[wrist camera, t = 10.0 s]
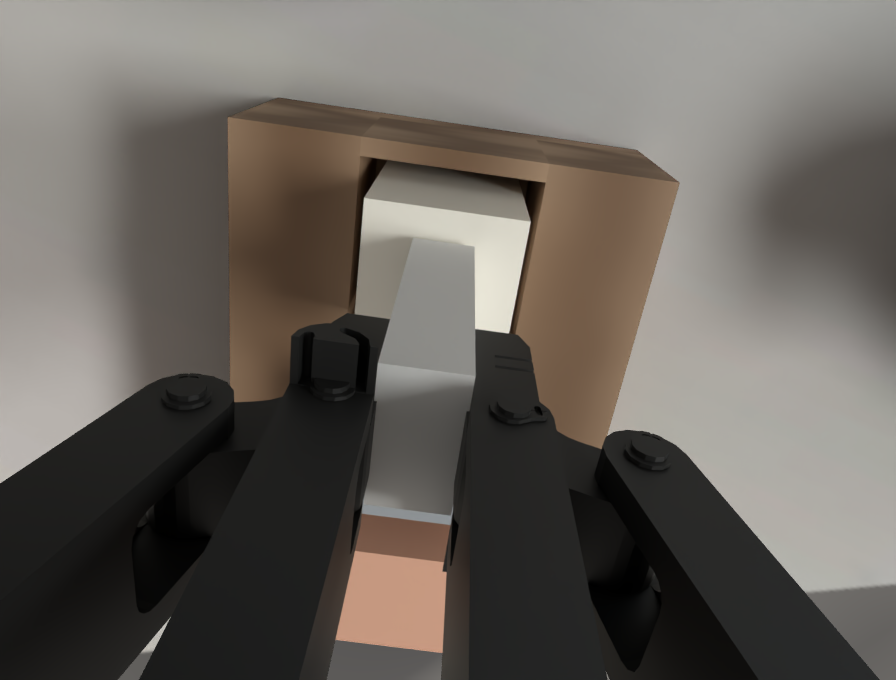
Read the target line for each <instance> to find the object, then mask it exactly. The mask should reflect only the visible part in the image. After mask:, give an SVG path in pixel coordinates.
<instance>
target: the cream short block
mask: <svg viewBox="0 0 896 680" xmlns="http://www.w3.org/2000/svg"><path fill="white" fill-rule="evenodd" d="M530 223H531V221H530V217H529V214H528V211H527V207H526V204H525V200H524V197H523V194H522V190H521V187H520V183H519V180H518V179H517V178H510V177H503V176H496V175H489V174H482V173H475V172H468V171H461V170H454V169H448V168H441V167H434V166H427V165H420V164H413V163H406V162H399V161H392V160H387V162H386V164H385V165H384V167H383V168H382V170H381V172H380V173H379V175H378V176H377V178H376V180H375V181H374V183H373V184H372V186H371V188H370V189H369V191H368V192H367V194H366V196H365V197H364V205H363V217H362V229H361V242H360V254H359V266H358V279H357V291H356V304H355V314H357V315H365V316H372V317H379V318H386V319H390V318H391V315H392V311H393V307H394V304H395V300H396V297H397V293H398V290H399V286H400V283H401V279H402V276H403V272H404V268H405V265H406V261H407V258H408V254H409V251H410V247H411V244H412V240H413V238H419V239H426V240H433V241H440V242H447V243H454V244H461V245H468V246H474V247H475V329H479V330H487V331H494V332H501V333H508V334H509V331H510V326H511V321H512V316H513V311H514V305H515V300H516V295H517V290H518V285H519V280H520V275H521V270H522V264H523V259H524V254H525V249H526V244H527V239H528V234H529V228H530Z"/></svg>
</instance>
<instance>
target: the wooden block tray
mask: <svg viewBox="0 0 896 680" xmlns="http://www.w3.org/2000/svg"><path fill="white" fill-rule="evenodd" d="M387 160H392V161H399V162H406V163H413V164H420V165H427V166H434V167H441V168H448V169H454V170H461V171H468V172H475V173H482V174H489V175H496V176H503V177H510V178H517V179H518V180H519V183H520V187H521V190H522V194H523V197H524V200H525V204H526V207H527V211H528V214H529V217H530V221H531V223H530V228H529V234H528V239H527V244H526V249H525V254H524V259H523V264H522V270H521V275H520V280H519V285H518V290H517V295H516V300H515V305H514V311H513V316H512V321H511V326H510V331H509V334H516V335H519V336H520V338H521V339H522V340H523V341H524V342H525V343H526V344H527V345H528V346H529V347H530V351H531V356H532V362H533V368H534V373H535V379H536V384H537V390H538V396H539V401H540V402H541V403H542V404H543V405H544V406H546V407H547V408H548V409H549V410H550V411H551V413H552V415H553V417H554V419H555V424H556V429H557V431H558V432H560V433H562V434H563V435H565V436H567V437H569V438H571V439H574V440H576V441H579V442H581V443H584V444H588V445H591V446H594V447H597V448H600V449H602V446H603V443H604V440H605V437H607V434H608V430H609V427H610V423H611V420H612V416H613V413H614V409H615V406H616V402H617V399H618V395H619V392H620V389H621V385H622V382H623V378H624V375H625V371H626V368H627V364H628V361H629V357H630V354H631V350H632V347H633V343H634V340H635V336H636V333H637V329H638V326H639V322H640V319H641V316H642V312H643V309H644V305H645V302H646V298H647V295H648V291H649V288H650V284H651V281H652V277H653V274H654V270H655V267H656V263H657V260H658V256H659V253H660V249H661V246H662V243H663V239H664V236H665V232H666V229H667V225H668V222H669V218H670V215H671V211H672V208H673V204H674V201H675V197H676V194H677V190H678V187H679V182H678V181H677V180H675V179H674V178H673V177H672V176H670V175H669V174H668V173H666V172H665V171H664V170H662V169H661V168H660V167H658V166H657V165H656V164H655V163H653V162H652V161H651V160H649V159H648V158H647V157H645V156H644V155H643V154H641V153H640V152H639V151H638V150H632V149H625V148H618V147H611V146H604V145H598V144H591V143H584V142H577V141H570V140H563V139H557V138H550V137H543V136H536V135H529V134H523V133H516V132H509V131H502V130H495V129H488V128H482V127H475V126H468V125H461V124H454V123H447V122H441V121H434V120H427V119H420V118H413V117H406V116H400V115H393V114H386V113H379V112H372V111H366V110H359V109H352V108H345V107H338V106H331V105H325V104H318V103H311V102H304V101H297V100H290V99H284V98H277V99H274V100H271V101H269V102H266V103H263V104H261V105H258V106H255V107H253V108H250V109H248V110H245V111H242V112H240V113H237V114H234V115H232V116H229V117H228V213H229V321H230V386H231V388H232V389H233V390H234V402H251V401H263V400H271V399H275V398H279V397H283V395H284V393H285V391H286V389H287V387H288V385H289V381H290V353H291V336H292V335H293V334H294V333H295V332H296V331H297V330H298V329H301V328H304V327H307V326H309V325H315V324H323V323H332V322H333V321H335V320H336V319H338V318H340V317H341V316H343V315H345V314H346V313H350V314H355V304H356V291H357V279H358V266H359V254H360V242H361V229H362V217H363V205H364V197H365V196H366V194H367V192H368V191H369V189H370V188H371V186H372V184H373V183H374V181H375V180H376V178H377V176H378V175H379V173H380V172H381V170H382V168H383V167H384V165H385V164H386V162H387Z"/></svg>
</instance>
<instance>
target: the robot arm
mask: <svg viewBox="0 0 896 680" xmlns="http://www.w3.org/2000/svg"><path fill="white" fill-rule="evenodd" d="M363 499H364V504H365V505H372V506H380V507H388V508H395V509H403V510H411V511H419V512H426V513H434V514H442V515H449V516H451V513H452V508H453V513H452V519H451V525H450V530H449V536H448V542H447V547H446V553H445V559H444V564H443V570H442V571H443V572H447V574H446V594H445V613H444V633H443V652H442V672H441V680H607V676H606V672H607V674H608V677H609V679H610V680H879V678H878V677H877V676H876V675H875V674H874V673H873V671H872V670H871V669H870V668H869V667H868V666H867V664H866V663H865V662H864V661H863V660H862V659H861V657H860V656H859V655H858V654H857V653H856V652H855V651H854V649H853V648H852V647H851V646H850V645H849V643H848V642H847V641H846V640H845V639H844V638H843V637H842V635H841V634H840V633H839V632H838V631H837V629H836V628H835V627H834V626H833V625H832V624H831V622H830V621H829V620H828V619H827V618H826V617H825V615H824V614H823V613H822V612H821V611H820V610H819V608H818V607H817V606H816V605H815V604H814V603H813V601H812V600H811V599H810V598H809V597H808V596H807V594H806V593H805V592H804V591H803V590H802V589H801V587H800V586H799V585H798V584H797V583H796V582H795V580H794V579H793V578H792V577H791V576H790V575H789V573H788V572H787V571H786V570H785V569H784V568H783V566H782V565H781V564H780V563H779V562H778V561H777V559H776V558H775V557H774V556H773V555H772V554H771V552H770V551H769V550H768V549H767V548H766V547H765V545H764V544H763V543H762V542H761V541H760V540H759V538H758V537H757V536H756V535H755V534H754V533H753V532H752V530H751V529H750V528H749V527H748V526H747V525H746V523H745V522H744V521H743V520H742V519H741V518H740V516H739V515H738V514H737V513H736V512H735V511H734V509H733V508H732V507H731V506H730V505H729V504H728V502H727V501H726V500H725V499H724V498H723V497H722V495H721V494H720V493H719V492H718V491H717V490H716V488H715V487H714V486H713V485H712V484H711V483H710V481H709V480H708V479H707V478H706V477H705V476H704V474H703V473H702V472H701V471H700V470H699V469H698V467H697V466H696V465H695V464H694V463H693V462H692V460H691V459H690V458H689V457H688V456H687V455H686V454H685V453H684V452H683V451H682V450H681V449H679V448H678V447H677V446H676V445H674V444H673V443H671V442H669V441H667V440H665V439H663V438H662V437H660V436H658V435H655V434H650V433H649V432H644V431H633V430H624V431H617V432H613V433H612V434H610V435H608V436H607V437H605V440H604V443H603V446H602V449H600V448H597V447H594V446H591V445H588V444H584V443H581V442H579V441H576V440H574V439H571V438H569V437H567V436H565V435H563V434H562V433H560V432H558V431H557V429H556V424H555V419H554V417H553V415H552V413H551V411H550V410H549V409H548V408H547V407H546V406H544V405H543V404H542V403H541V402H540V401H539V396H538V390H537V384H536V379H535V373H534V368H533V362H532V356H531V351H530V347H529V346H528V345H527V344H526V343H525V342H524V341H523V340H522V339H521V338H520V336H519V335H516V334H508V333H501V332H494V331H487V330H479V329H475V247H474V246H468V245H461V244H454V243H447V242H440V241H433V240H426V239H419V238H413V240H412V244H411V247H410V251H409V254H408V258H407V261H406V265H405V268H404V272H403V276H402V279H401V283H400V286H399V290H398V293H397V297H396V300H395V304H394V307H393V311H392V315H391V318H390V319H386V318H379V317H372V316H365V315H357V314H350V313H346V314H345V315H343V316H341V317H340V318H338V319H336V320H335V321H333V322H332V323H323V324H315V325H309V326H307V327H304V328H301V329H298V330H297V331H296V332H295V333H294V334H293V335H292V336H291V353H290V381H289V385H288V387H287V389H286V391H285V393H284V395H283V397H279V398H275V399H271V400H263V401H251V402H234V390H233V389H232V388H231V386H230V385H229V384H228V383H227V382H225V381H223V380H220V379H218V378H215V377H213V376H206V375H201V374H191V373H190V374H178V375H175V376H171V377H166V378H162V379H160V380H158V381H155V382H153V383H151V384H149V385H147V386H146V387H144V388H143V389H141V390H140V391H138V392H137V393H135V394H134V395H132V396H131V397H129V398H128V399H126V400H125V401H123V402H122V403H120V404H119V405H117V406H116V407H114V408H113V409H111V410H110V411H108V412H107V413H105V414H104V415H102V416H101V417H99V418H98V419H96V420H95V421H93V422H92V423H90V424H89V425H87V426H86V427H84V428H83V429H81V430H80V431H78V432H77V433H75V434H74V435H72V436H71V437H69V438H68V439H66V440H65V441H63V442H62V443H60V444H59V445H57V446H56V447H54V448H53V449H51V450H50V451H48V452H47V453H45V454H44V455H42V456H41V457H39V458H38V459H36V460H35V461H33V462H32V463H30V464H29V465H27V466H26V467H24V468H23V469H21V470H20V471H18V472H17V473H15V474H14V475H12V476H11V477H9V478H8V479H6V480H5V481H3V482H2V483H0V680H118V679H119V677H120V676H121V675H122V674H123V673H124V672H125V670H126V669H127V668H128V667H129V665H130V664H131V663H132V662H133V661H134V660H135V659H136V657H137V656H138V655H139V654H140V653H141V651H142V650H143V649H144V648H145V647H146V645H147V644H148V643H149V642H150V641H151V640H152V638H153V637H154V636H155V635H156V634H157V632H158V631H159V630H160V629H161V628H162V626H163V625H164V624H165V623H166V622H167V621H168V619H169V618H170V617H171V618H170V620H169V622H168V624H167V626H166V628H165V630H164V632H163V634H162V636H161V638H160V640H159V642H158V644H157V646H156V647H155V649H154V651H153V653H152V655H151V657H150V660H149V662H148V663H147V665H146V668H145V669H144V671H143V673H142V675H141V677H140V679H139V680H327V676H328V671H329V667H330V662H331V657H332V653H333V648H334V644H335V639H336V635H337V630H338V626H339V621H340V617H341V612H342V608H343V603H344V598H345V594H346V589H347V585H348V580H349V576H350V571H351V567H352V562H353V558H354V553H355V549H356V544H357V539H358V535H359V530H360V526H361V517H362V507H363Z"/></svg>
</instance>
